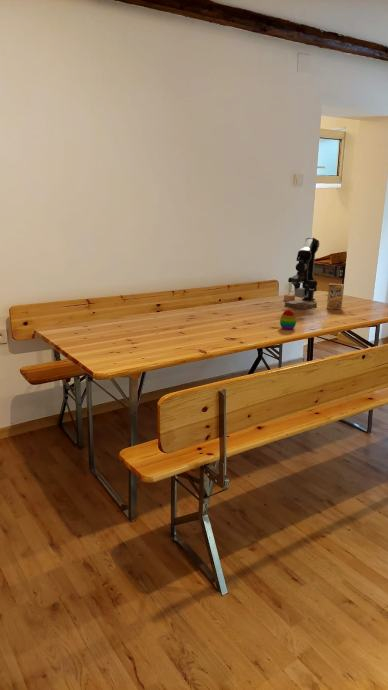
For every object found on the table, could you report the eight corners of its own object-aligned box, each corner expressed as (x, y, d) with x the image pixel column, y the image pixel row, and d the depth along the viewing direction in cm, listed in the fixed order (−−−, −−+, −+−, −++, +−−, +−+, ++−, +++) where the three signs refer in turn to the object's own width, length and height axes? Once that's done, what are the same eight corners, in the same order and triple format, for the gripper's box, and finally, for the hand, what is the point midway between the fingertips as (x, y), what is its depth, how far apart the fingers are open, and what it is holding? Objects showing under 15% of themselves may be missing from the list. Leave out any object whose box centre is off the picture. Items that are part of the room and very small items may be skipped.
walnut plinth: (299, 303, 330) (299, 299, 330) (316, 307, 320) (316, 303, 319) (284, 306, 322) (285, 302, 321) (302, 309, 311) (302, 305, 311)
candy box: (326, 308, 316) (328, 284, 312) (327, 307, 320) (329, 283, 316) (341, 309, 314) (343, 285, 309) (341, 308, 317) (344, 284, 313)
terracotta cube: (288, 300, 342) (288, 294, 341) (294, 301, 339) (294, 295, 338) (283, 300, 339) (284, 295, 338) (289, 302, 336) (290, 296, 334)
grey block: (300, 295, 323) (301, 287, 322) (308, 296, 319) (308, 288, 317) (294, 296, 319) (295, 288, 318) (302, 297, 315) (302, 289, 314)
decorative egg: (276, 327, 267) (277, 308, 264) (289, 326, 270) (291, 307, 267) (285, 331, 260) (286, 312, 257) (298, 329, 263) (300, 310, 260)
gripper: (283, 269, 316) (281, 294, 321) (307, 272, 303) (305, 298, 307) (294, 268, 323) (293, 292, 328) (318, 271, 309) (316, 296, 314)
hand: (301, 295), depth 319 cm, fingers closed on grey block, 6 cm apart
